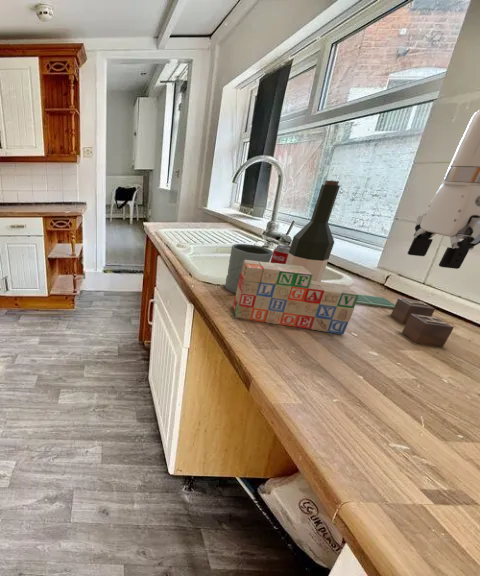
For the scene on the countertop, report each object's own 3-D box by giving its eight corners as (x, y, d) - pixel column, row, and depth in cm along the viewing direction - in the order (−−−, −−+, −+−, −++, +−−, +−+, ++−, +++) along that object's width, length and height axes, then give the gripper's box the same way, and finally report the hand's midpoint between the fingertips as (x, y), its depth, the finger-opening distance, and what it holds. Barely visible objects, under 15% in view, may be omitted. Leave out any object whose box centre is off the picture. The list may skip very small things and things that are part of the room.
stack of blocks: (332, 322, 70) (351, 271, 65) (343, 335, 64) (366, 281, 60) (232, 306, 75) (243, 258, 71) (234, 317, 70) (247, 266, 65)
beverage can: (269, 282, 93) (279, 244, 89) (289, 288, 89) (302, 248, 85) (260, 286, 90) (271, 246, 85) (281, 292, 86) (293, 251, 81)
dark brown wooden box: (427, 336, 66) (437, 316, 64) (443, 347, 62) (454, 326, 60) (401, 332, 67) (411, 312, 65) (415, 343, 63) (426, 322, 61)
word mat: (382, 298, 85) (383, 296, 85) (398, 309, 79) (399, 307, 79) (337, 292, 88) (338, 291, 88) (349, 302, 82) (349, 300, 81)
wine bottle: (311, 300, 81) (352, 181, 70) (312, 311, 75) (358, 182, 63) (276, 293, 85) (309, 179, 74) (274, 302, 79) (310, 179, 67)
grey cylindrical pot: (229, 280, 93) (238, 242, 88) (265, 289, 87) (276, 249, 83) (217, 289, 86) (226, 247, 81) (256, 300, 80) (268, 255, 75)
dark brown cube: (412, 318, 74) (421, 300, 72) (426, 326, 70) (435, 308, 68) (390, 314, 75) (398, 297, 74) (402, 323, 71) (411, 304, 69)
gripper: (542, 180, 52) (487, 275, 58) (459, 178, 67) (423, 253, 74) (487, 177, 53) (439, 270, 60) (418, 175, 69) (387, 249, 75)
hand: (431, 261), depth 67 cm, fingers open, 9 cm apart
